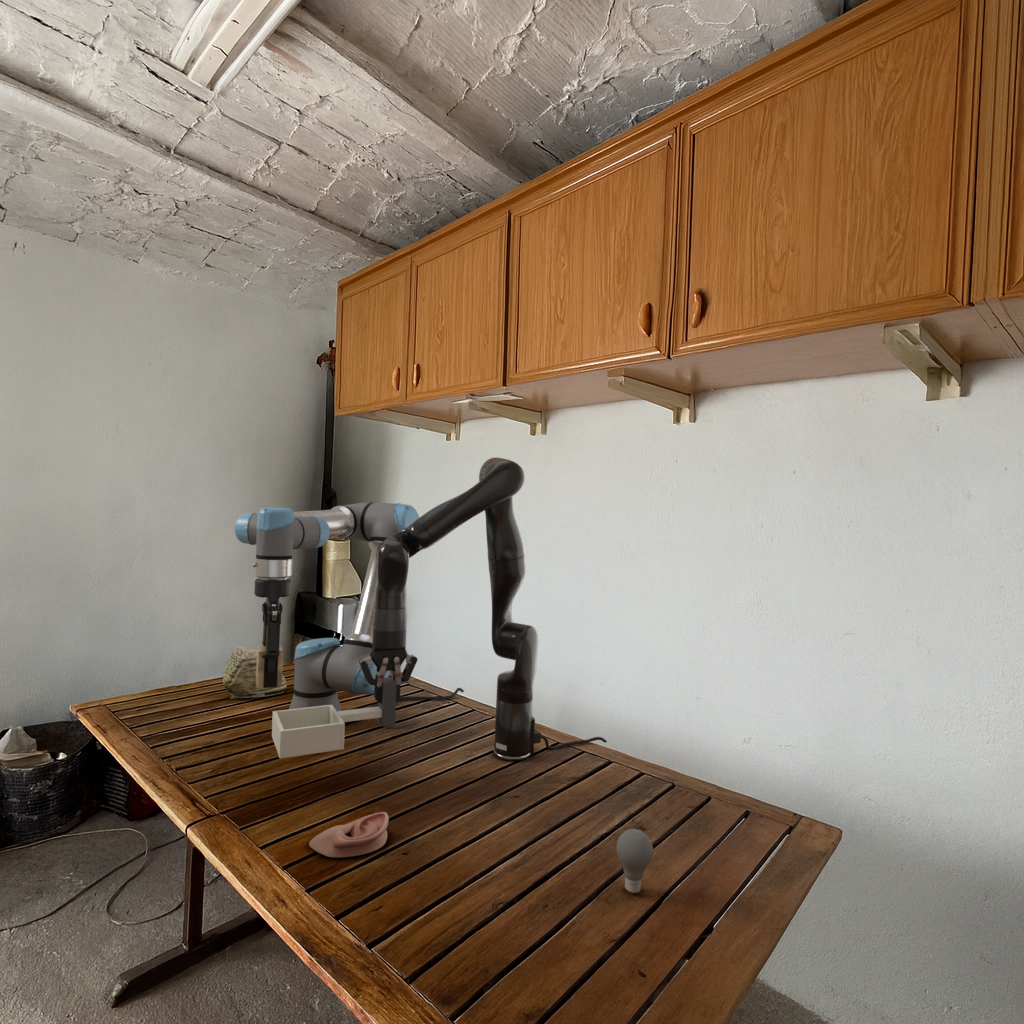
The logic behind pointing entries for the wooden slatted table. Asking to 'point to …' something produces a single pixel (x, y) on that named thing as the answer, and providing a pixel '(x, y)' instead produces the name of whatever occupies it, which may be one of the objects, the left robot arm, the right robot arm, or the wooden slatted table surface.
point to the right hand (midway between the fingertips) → (387, 700)
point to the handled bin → (326, 724)
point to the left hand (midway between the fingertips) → (269, 683)
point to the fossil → (246, 676)
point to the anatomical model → (353, 837)
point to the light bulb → (634, 857)
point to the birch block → (260, 667)
